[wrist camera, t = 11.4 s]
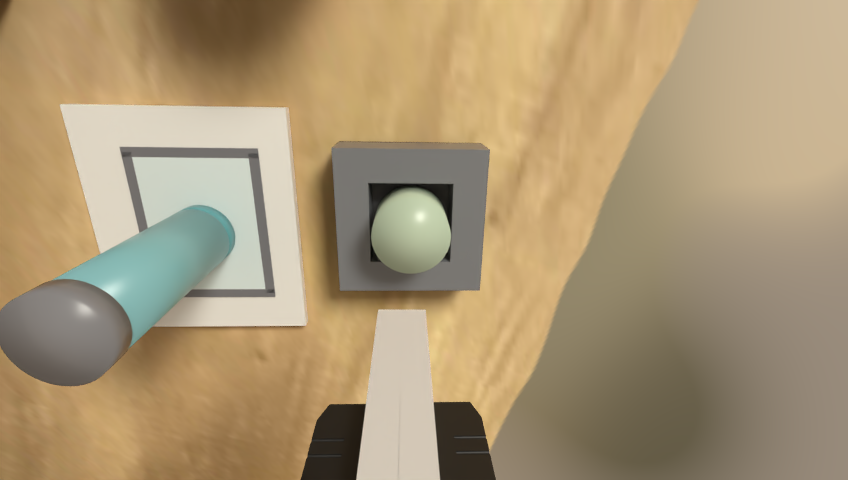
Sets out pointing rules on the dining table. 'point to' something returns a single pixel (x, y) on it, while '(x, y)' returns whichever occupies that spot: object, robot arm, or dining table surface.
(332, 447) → the robot arm
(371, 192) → the button housing
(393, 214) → the button
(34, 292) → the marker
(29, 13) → the dining table surface
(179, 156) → the picture board
